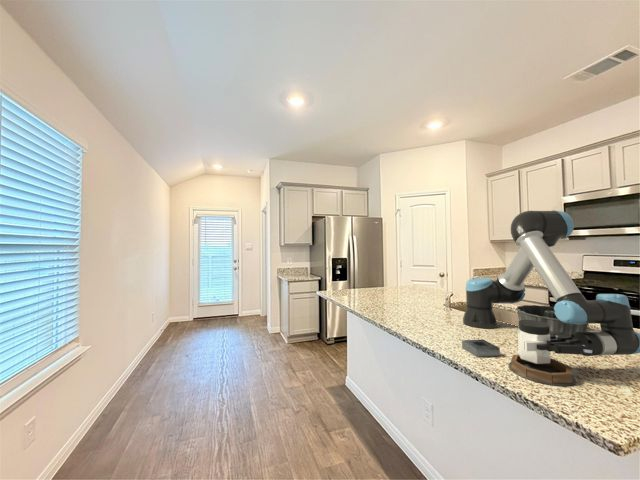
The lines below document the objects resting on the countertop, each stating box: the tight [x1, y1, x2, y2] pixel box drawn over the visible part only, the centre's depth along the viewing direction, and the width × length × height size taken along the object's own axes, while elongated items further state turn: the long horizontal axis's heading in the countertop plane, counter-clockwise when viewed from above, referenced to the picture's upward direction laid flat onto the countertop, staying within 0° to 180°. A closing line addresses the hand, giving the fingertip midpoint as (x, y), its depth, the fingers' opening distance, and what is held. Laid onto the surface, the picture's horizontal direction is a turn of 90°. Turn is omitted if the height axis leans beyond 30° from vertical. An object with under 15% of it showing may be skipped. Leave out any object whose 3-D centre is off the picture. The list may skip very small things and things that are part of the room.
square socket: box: [461, 339, 501, 358], centre depth 106 cm, size 9×9×3 cm
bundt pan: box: [515, 304, 589, 337], centre depth 128 cm, size 26×26×10 cm
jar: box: [517, 320, 551, 364], centre depth 93 cm, size 9×8×12 cm
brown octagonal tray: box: [508, 354, 577, 387], centre depth 89 cm, size 17×17×3 cm
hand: (524, 345), depth 88 cm, fingers closed on jar, 1 cm apart
